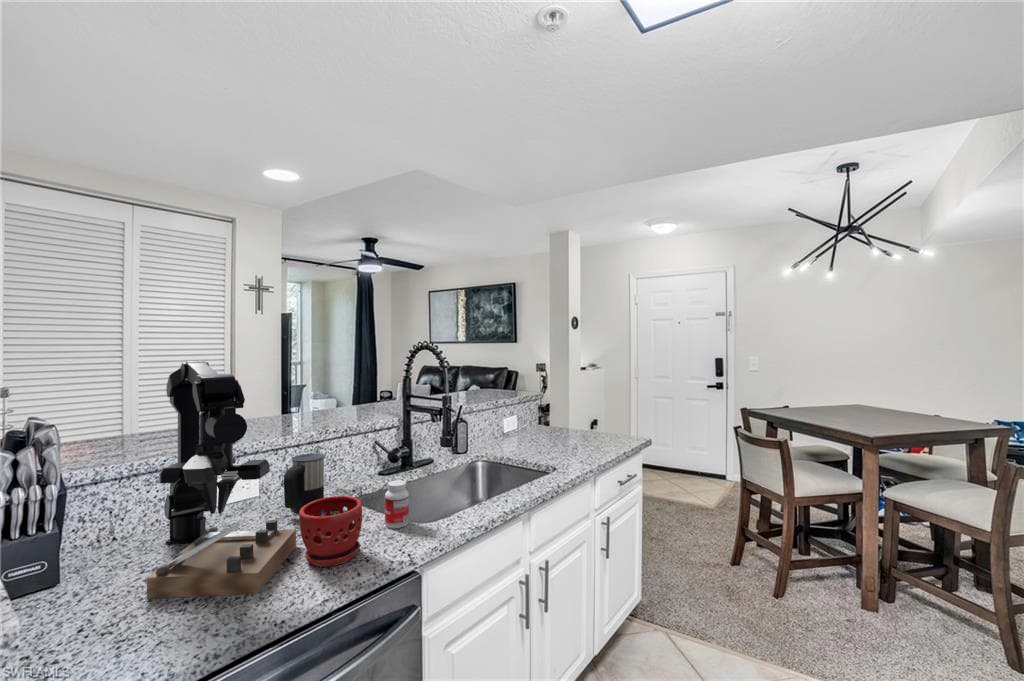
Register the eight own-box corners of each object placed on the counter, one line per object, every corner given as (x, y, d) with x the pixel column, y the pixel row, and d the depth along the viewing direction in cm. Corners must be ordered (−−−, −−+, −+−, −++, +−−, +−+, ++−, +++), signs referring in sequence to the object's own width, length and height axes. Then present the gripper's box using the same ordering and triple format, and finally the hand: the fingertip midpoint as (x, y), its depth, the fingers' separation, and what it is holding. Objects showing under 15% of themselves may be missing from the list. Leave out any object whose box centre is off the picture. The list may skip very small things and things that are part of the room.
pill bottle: (383, 521, 128) (384, 480, 128) (407, 518, 130) (407, 478, 130) (385, 530, 122) (386, 487, 122) (410, 527, 124) (410, 485, 124)
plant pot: (318, 544, 114) (318, 494, 114) (371, 546, 113) (371, 496, 113) (287, 570, 101) (287, 514, 101) (346, 573, 100) (346, 516, 100)
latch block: (146, 598, 90) (146, 564, 90) (206, 549, 111) (206, 521, 111) (258, 593, 92) (258, 559, 92) (295, 546, 113) (295, 518, 113)
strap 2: (202, 541, 106) (202, 537, 106) (209, 535, 109) (209, 532, 109) (268, 538, 107) (268, 535, 107) (274, 533, 110) (274, 529, 110)
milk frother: (297, 502, 143) (297, 453, 142) (351, 500, 144) (351, 451, 144) (279, 520, 128) (279, 465, 128) (339, 518, 130) (339, 464, 130)
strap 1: (167, 569, 93) (165, 566, 93) (176, 562, 96) (174, 558, 96) (233, 531, 94) (231, 527, 94) (240, 525, 97) (238, 521, 97)
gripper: (141, 446, 88) (141, 531, 88) (247, 443, 90) (248, 525, 90) (176, 435, 99) (176, 510, 99) (270, 432, 102) (270, 505, 101)
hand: (216, 513), depth 97 cm, fingers closed
